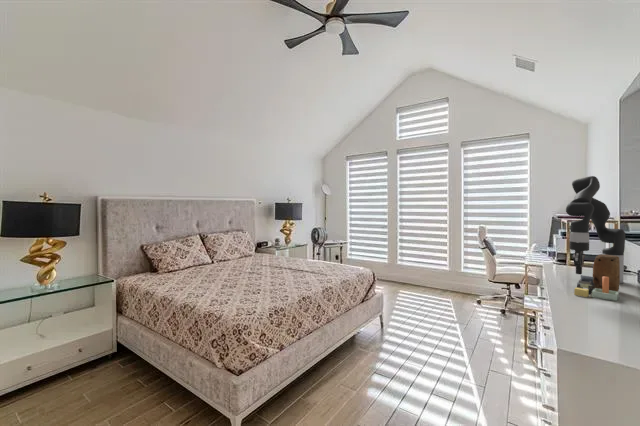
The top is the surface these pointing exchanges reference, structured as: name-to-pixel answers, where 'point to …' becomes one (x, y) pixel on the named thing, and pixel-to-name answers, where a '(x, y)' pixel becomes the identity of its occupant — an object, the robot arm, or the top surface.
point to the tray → (605, 294)
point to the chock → (581, 292)
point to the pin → (605, 285)
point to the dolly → (586, 283)
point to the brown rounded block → (606, 271)
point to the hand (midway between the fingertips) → (578, 274)
